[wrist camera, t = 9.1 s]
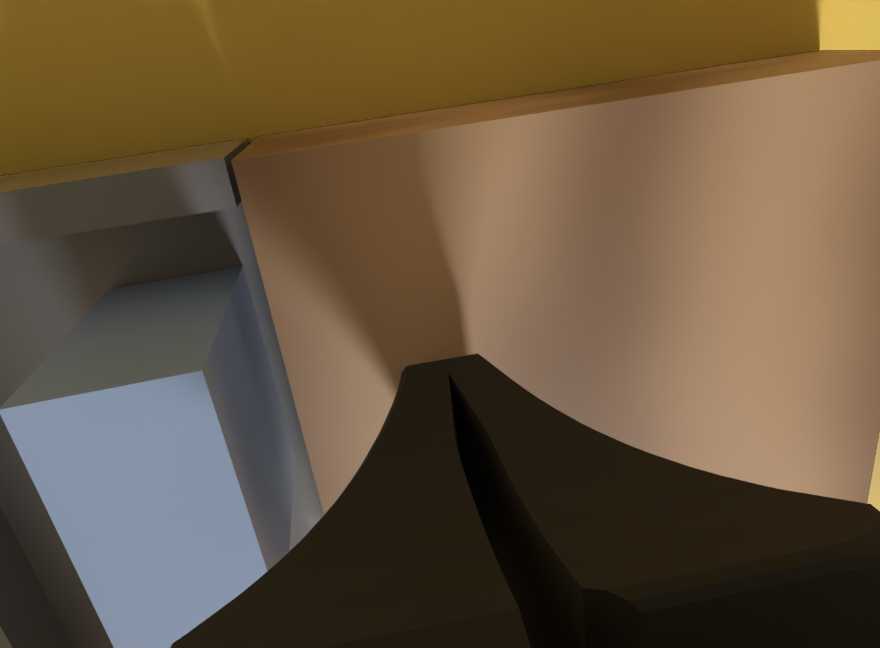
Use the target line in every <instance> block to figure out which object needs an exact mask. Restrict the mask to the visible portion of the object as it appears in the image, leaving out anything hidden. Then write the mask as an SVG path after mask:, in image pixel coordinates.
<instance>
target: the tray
mask: <svg viewBox="0 0 880 648" xmlns="http://www.w3.org/2000/svg"><path fill="white" fill-rule="evenodd" d="M248 145H249V142H248V138H245V139H238V140H232V141H225V142H219V143H212V144H206V145H199V146H193V147H186V148H180V149H173V150H167V151H160V152H154V153H147V154H140V155H134V156H127V157H121V158H114V159H108V160H101V161H95V162H88V163H82V164H75V165H69V166H62V167H56V168H49V169H42V170H36V171H29V172H23V173H16V174H10V175H3V176H0V407H1V406H2V405H3V404H4V403H5V402H6V401H7V400H8V399H9V398H10V397H11V395H12V394H13V393H14V392H15V391H16V390H17V389H18V388H19V387H20V386H21V385H22V384H23V382H24V381H25V380H26V379H27V378H28V377H29V376H30V375H31V374H32V373H33V372H34V370H35V369H36V368H37V367H38V366H39V365H40V364H41V363H42V362H43V361H44V360H45V359H46V357H47V356H48V355H49V354H50V353H51V352H52V351H53V350H54V349H55V348H56V347H57V346H58V344H59V343H60V342H61V341H62V340H63V339H64V338H65V337H66V336H67V335H68V334H69V332H70V331H71V330H72V329H73V328H74V327H75V326H76V325H77V324H78V323H79V322H80V321H81V319H82V318H83V317H84V316H85V315H86V314H87V313H88V312H89V311H90V310H91V309H92V307H93V306H94V305H95V304H96V303H97V302H98V301H99V300H100V299H101V298H102V297H103V296H104V294H105V293H106V292H107V291H108V290H109V289H115V288H121V287H126V286H132V285H137V284H143V283H149V282H154V281H160V280H165V279H171V278H177V277H182V276H188V275H193V274H199V273H205V272H210V271H216V270H221V269H227V268H233V267H238V266H243V268H244V272H245V276H246V279H247V283H248V287H249V290H250V294H251V298H252V301H253V305H254V309H255V312H256V316H257V319H258V323H259V327H260V330H261V334H262V338H263V341H264V345H265V349H266V352H267V356H268V359H269V363H270V367H271V370H272V374H273V378H274V381H275V385H276V389H277V392H278V396H279V399H280V403H281V407H282V410H283V414H284V418H285V421H286V425H287V429H288V432H289V436H290V439H291V443H292V447H293V450H294V454H295V472H294V487H293V501H292V515H291V529H290V544H289V551H290V550H291V549H292V548H293V547H295V546H296V545H297V544H298V543H299V542H300V541H301V540H302V539H303V538H304V537H305V536H306V535H307V533H308V532H309V531H310V530H311V529H312V528H313V527H314V526H315V525H316V524H317V522H318V521H319V520H320V519H321V518H322V517H323V516H324V513H323V509H322V505H321V501H320V497H319V494H318V490H317V486H316V482H315V478H314V475H313V471H312V467H311V463H310V459H309V456H308V452H307V448H306V444H305V440H304V436H303V433H302V429H301V425H300V421H299V417H298V414H297V410H296V406H295V402H294V398H293V395H292V391H291V387H290V383H289V379H288V375H287V372H286V368H285V364H284V360H283V356H282V353H281V349H280V345H279V341H278V337H277V334H276V330H275V326H274V322H273V318H272V315H271V311H270V307H269V303H268V299H267V295H266V292H265V288H264V284H263V280H262V276H261V273H260V269H259V265H258V261H257V257H256V254H255V250H254V246H253V242H252V238H251V235H250V231H249V227H248V223H247V219H246V215H245V212H244V208H243V204H242V200H241V196H240V193H239V189H238V185H237V181H236V177H235V174H234V170H233V166H232V162H231V160H232V159H234V158H235V157H236V156H237V155H238V154H239V153H240V152H241V151H243V150H244V149H245V148H246V147H247V146H248ZM0 648H114V647H113V645H112V643H111V641H110V639H109V637H108V635H107V633H106V631H105V629H104V627H103V625H102V622H101V620H100V618H99V616H98V614H97V612H96V610H95V608H94V606H93V604H92V602H91V600H90V598H89V596H88V594H87V592H86V590H85V588H84V585H83V583H82V581H81V579H80V577H79V575H78V573H77V571H76V569H75V567H74V565H73V563H72V561H71V559H70V557H69V555H68V553H67V551H66V548H65V546H64V544H63V542H62V540H61V538H60V536H59V534H58V532H57V530H56V528H55V526H54V524H53V522H52V520H51V518H50V516H49V514H48V511H47V509H46V507H45V505H44V503H43V501H42V499H41V497H40V495H39V493H38V491H37V489H36V487H35V485H34V483H33V481H32V479H31V477H30V474H29V472H28V470H27V468H26V466H25V464H24V462H23V460H22V458H21V456H20V454H19V452H18V450H17V448H16V446H15V444H14V442H13V440H12V437H11V435H10V433H9V431H8V429H7V427H6V425H5V423H4V421H3V419H2V417H1V415H0Z"/></svg>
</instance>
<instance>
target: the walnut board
mask: <svg viewBox="0 0 880 648" xmlns="http://www.w3.org/2000/svg"><path fill="white" fill-rule="evenodd" d="M231 162H232V166H233V170H234V174H235V177H236V181H237V185H238V189H239V193H240V196H241V200H242V204H243V208H244V212H245V215H246V219H247V223H248V227H249V231H250V235H251V238H252V242H253V246H254V250H255V254H256V257H257V261H258V265H259V269H260V273H261V276H262V280H263V284H264V288H265V292H266V295H267V299H268V303H269V307H270V311H271V315H272V318H273V322H274V326H275V330H276V334H277V337H278V341H279V345H280V349H281V353H282V356H283V360H284V364H285V368H286V372H287V375H288V379H289V383H290V387H291V391H292V395H293V398H294V402H295V406H296V410H297V414H298V417H299V421H300V425H301V429H302V433H303V436H304V440H305V444H306V448H307V452H308V456H309V459H310V463H311V467H312V471H313V475H314V478H315V482H316V486H317V490H318V494H319V497H320V501H321V505H322V509H323V513H324V515H325V513H326V512H327V511H328V510H329V509H330V508H331V506H332V505H333V504H334V503H335V501H336V500H337V499H338V498H339V496H340V495H341V493H342V492H343V491H344V489H345V488H346V487H347V485H348V484H349V483H350V481H351V480H352V478H353V477H354V475H355V474H356V472H357V471H358V469H359V468H360V466H361V464H362V463H363V461H364V459H365V458H366V456H367V454H368V452H369V451H370V449H371V447H372V445H373V443H374V442H375V440H376V438H377V436H378V434H379V432H380V430H381V428H382V426H383V424H384V422H385V420H386V417H387V415H388V413H389V411H390V408H391V406H392V404H393V401H394V398H395V395H396V393H397V390H398V386H399V383H400V378H401V373H402V371H403V370H404V369H405V367H406V366H409V365H415V364H420V363H426V362H432V361H437V360H443V359H449V358H455V357H460V356H466V355H472V354H477V353H478V354H479V355H481V356H482V357H483V358H485V359H486V360H487V361H489V362H490V363H491V364H493V365H494V366H495V367H496V368H498V369H499V370H500V371H502V372H503V373H504V374H505V375H507V376H508V377H509V378H511V379H512V380H513V381H515V382H516V383H517V384H519V385H520V386H522V387H523V388H524V389H526V390H527V391H529V392H530V393H532V394H533V395H535V396H536V397H538V398H539V399H541V400H542V401H544V402H545V403H547V404H549V405H550V406H552V407H554V408H555V409H557V410H559V411H561V412H562V413H564V414H566V415H568V416H569V417H571V418H573V419H575V420H576V421H578V422H580V423H582V424H584V425H586V426H588V427H590V428H592V429H594V430H596V431H598V432H600V433H603V434H605V435H607V436H609V437H612V438H614V439H616V440H618V441H621V442H623V443H625V444H627V445H630V446H632V447H635V448H638V449H640V450H643V451H645V452H648V453H651V454H654V455H657V456H660V457H663V458H666V459H669V460H671V461H674V462H677V463H680V464H683V465H686V466H689V467H693V468H696V469H700V470H703V471H707V472H711V473H714V474H718V475H721V476H725V477H730V478H734V479H738V480H742V481H746V482H751V483H755V484H759V485H763V486H767V487H772V488H777V489H782V490H788V491H794V492H800V493H806V494H812V495H819V496H825V497H831V498H837V499H843V500H849V501H855V502H861V503H867V501H868V495H869V489H870V484H871V478H872V472H873V466H874V461H875V455H876V449H877V443H878V438H879V432H880V50H821V51H814V52H807V53H801V54H794V55H788V56H781V57H775V58H768V59H762V60H755V61H749V62H742V63H736V64H729V65H723V66H716V67H709V68H703V69H696V70H690V71H683V72H677V73H670V74H664V75H657V76H651V77H644V78H638V79H631V80H625V81H618V82H611V83H605V84H598V85H592V86H585V87H579V88H572V89H566V90H559V91H553V92H546V93H540V94H533V95H527V96H520V97H514V98H507V99H500V100H494V101H487V102H481V103H474V104H468V105H461V106H455V107H448V108H442V109H435V110H429V111H422V112H416V113H409V114H402V115H396V116H389V117H383V118H376V119H370V120H363V121H357V122H350V123H344V124H337V125H331V126H324V127H318V128H311V129H304V130H298V131H291V132H285V133H278V134H272V135H265V136H259V137H257V138H256V139H255V140H254V141H253V142H252V143H250V144H249V145H248V146H247V147H246V148H245V149H244V150H243V151H241V152H240V153H239V154H238V155H237V156H236V157H235V158H234V159H232V160H231Z"/></svg>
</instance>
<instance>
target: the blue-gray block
mask: <svg viewBox="0 0 880 648" xmlns="http://www.w3.org/2000/svg"><path fill="white" fill-rule="evenodd" d="M0 415H1V417H2V419H3V421H4V423H5V425H6V427H7V429H8V431H9V433H10V435H11V437H12V440H13V442H14V444H15V446H16V448H17V450H18V452H19V454H20V456H21V458H22V460H23V462H24V464H25V466H26V468H27V470H28V472H29V474H30V477H31V479H32V481H33V483H34V485H35V487H36V489H37V491H38V493H39V495H40V497H41V499H42V501H43V503H44V505H45V507H46V509H47V511H48V514H49V516H50V518H51V520H52V522H53V524H54V526H55V528H56V530H57V532H58V534H59V536H60V538H61V540H62V542H63V544H64V546H65V548H66V551H67V553H68V555H69V557H70V559H71V561H72V563H73V565H74V567H75V569H76V571H77V573H78V575H79V577H80V579H81V581H82V583H83V585H84V588H85V590H86V592H87V594H88V596H89V598H90V600H91V602H92V604H93V606H94V608H95V610H96V612H97V614H98V616H99V618H100V620H101V622H102V625H103V627H104V629H105V631H106V633H107V635H108V637H109V639H110V641H111V643H112V645H113V647H114V648H170V647H171V645H172V644H173V643H174V642H175V641H177V640H178V639H180V638H181V637H183V636H184V635H185V634H187V633H188V632H190V631H191V630H192V629H194V628H195V627H197V626H198V625H199V624H201V623H202V622H203V621H205V620H206V619H207V618H209V617H210V616H211V615H213V614H214V613H215V612H217V611H218V610H219V609H221V608H222V607H223V606H225V605H226V604H227V603H229V602H230V601H232V600H233V599H234V598H236V597H237V596H238V595H240V594H241V593H242V592H243V591H245V590H246V589H247V588H248V587H249V586H251V585H252V584H253V583H254V582H256V581H257V580H258V579H259V578H260V577H261V576H263V575H264V574H265V573H266V572H267V571H268V570H269V569H271V568H272V567H273V566H274V565H275V564H276V563H277V562H279V561H280V560H281V559H282V558H283V557H284V556H285V555H286V554H287V553H288V552H289V544H290V529H291V515H292V501H293V487H294V472H295V454H294V450H293V447H292V443H291V439H290V436H289V432H288V429H287V425H286V421H285V418H284V414H283V410H282V407H281V403H280V399H279V396H278V392H277V389H276V385H275V381H274V378H273V374H272V370H271V367H270V363H269V359H268V356H267V352H266V349H265V345H264V341H263V338H262V334H261V330H260V327H259V323H258V319H257V316H256V312H255V309H254V305H253V301H252V298H251V294H250V290H249V287H248V283H247V279H246V276H245V272H244V268H243V266H238V267H233V268H227V269H221V270H216V271H210V272H205V273H199V274H193V275H188V276H182V277H177V278H171V279H165V280H160V281H154V282H149V283H143V284H137V285H132V286H126V287H121V288H115V289H109V290H108V291H107V292H106V293H105V294H104V296H103V297H102V298H101V299H100V300H99V301H98V302H97V303H96V304H95V305H94V306H93V307H92V309H91V310H90V311H89V312H88V313H87V314H86V315H85V316H84V317H83V318H82V319H81V321H80V322H79V323H78V324H77V325H76V326H75V327H74V328H73V329H72V330H71V331H70V332H69V334H68V335H67V336H66V337H65V338H64V339H63V340H62V341H61V342H60V343H59V344H58V346H57V347H56V348H55V349H54V350H53V351H52V352H51V353H50V354H49V355H48V356H47V357H46V359H45V360H44V361H43V362H42V363H41V364H40V365H39V366H38V367H37V368H36V369H35V370H34V372H33V373H32V374H31V375H30V376H29V377H28V378H27V379H26V380H25V381H24V382H23V384H22V385H21V386H20V387H19V388H18V389H17V390H16V391H15V392H14V393H13V394H12V395H11V397H10V398H9V399H8V400H7V401H6V402H5V403H4V404H3V405H2V406H1V407H0Z"/></svg>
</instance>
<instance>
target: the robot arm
mask: <svg viewBox="0 0 880 648" xmlns="http://www.w3.org/2000/svg"><path fill="white" fill-rule="evenodd" d="M170 648H880V511H878V510H877V509H876V508H875V507H873V506H872V505H871V504H867V503H861V502H855V501H849V500H843V499H837V498H831V497H825V496H819V495H812V494H806V493H800V492H794V491H788V490H782V489H777V488H772V487H767V486H763V485H759V484H755V483H751V482H746V481H742V480H738V479H734V478H730V477H725V476H721V475H718V474H714V473H711V472H707V471H703V470H700V469H696V468H693V467H689V466H686V465H683V464H680V463H677V462H674V461H671V460H669V459H666V458H663V457H660V456H657V455H654V454H651V453H648V452H645V451H643V450H640V449H638V448H635V447H632V446H630V445H627V444H625V443H623V442H621V441H618V440H616V439H614V438H612V437H609V436H607V435H605V434H603V433H600V432H598V431H596V430H594V429H592V428H590V427H588V426H586V425H584V424H582V423H580V422H578V421H576V420H575V419H573V418H571V417H569V416H568V415H566V414H564V413H562V412H561V411H559V410H557V409H555V408H554V407H552V406H550V405H549V404H547V403H545V402H544V401H542V400H541V399H539V398H538V397H536V396H535V395H533V394H532V393H530V392H529V391H527V390H526V389H524V388H523V387H522V386H520V385H519V384H517V383H516V382H515V381H513V380H512V379H511V378H509V377H508V376H507V375H505V374H504V373H503V372H502V371H500V370H499V369H498V368H496V367H495V366H494V365H493V364H491V363H490V362H489V361H487V360H486V359H485V358H483V357H482V356H481V355H479V354H478V353H477V354H472V355H466V356H460V357H455V358H449V359H443V360H437V361H432V362H426V363H420V364H415V365H409V366H406V367H405V369H404V370H403V371H402V373H401V378H400V383H399V386H398V390H397V393H396V395H395V398H394V401H393V404H392V406H391V408H390V411H389V413H388V415H387V417H386V420H385V422H384V424H383V426H382V428H381V430H380V432H379V434H378V436H377V438H376V440H375V442H374V443H373V445H372V447H371V449H370V451H369V452H368V454H367V456H366V458H365V459H364V461H363V463H362V464H361V466H360V468H359V469H358V471H357V472H356V474H355V475H354V477H353V478H352V480H351V481H350V483H349V484H348V485H347V487H346V488H345V489H344V491H343V492H342V493H341V495H340V496H339V498H338V499H337V500H336V501H335V503H334V504H333V505H332V506H331V508H330V509H329V510H328V511H327V512H326V513H325V515H324V516H323V517H322V518H321V519H320V520H319V521H318V522H317V524H316V525H315V526H314V527H313V528H312V529H311V530H310V531H309V532H308V533H307V535H306V536H305V537H304V538H303V539H302V540H301V541H300V542H299V543H298V544H297V545H296V546H295V547H293V548H292V549H291V550H290V551H289V552H288V553H287V554H286V555H285V556H284V557H283V558H282V559H281V560H280V561H279V562H277V563H276V564H275V565H274V566H273V567H272V568H271V569H269V570H268V571H267V572H266V573H265V574H264V575H263V576H261V577H260V578H259V579H258V580H257V581H256V582H254V583H253V584H252V585H251V586H249V587H248V588H247V589H246V590H245V591H243V592H242V593H241V594H240V595H238V596H237V597H236V598H234V599H233V600H232V601H230V602H229V603H227V604H226V605H225V606H223V607H222V608H221V609H219V610H218V611H217V612H215V613H214V614H213V615H211V616H210V617H209V618H207V619H206V620H205V621H203V622H202V623H201V624H199V625H198V626H197V627H195V628H194V629H192V630H191V631H190V632H188V633H187V634H185V635H184V636H183V637H181V638H180V639H178V640H177V641H175V642H174V643H173V644H172V645H171V647H170Z"/></svg>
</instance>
